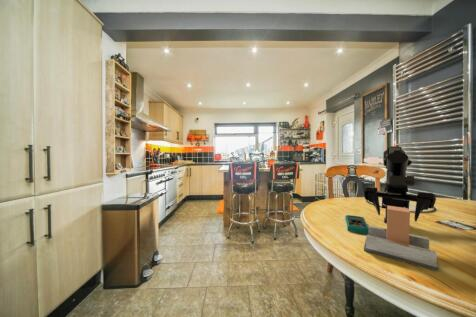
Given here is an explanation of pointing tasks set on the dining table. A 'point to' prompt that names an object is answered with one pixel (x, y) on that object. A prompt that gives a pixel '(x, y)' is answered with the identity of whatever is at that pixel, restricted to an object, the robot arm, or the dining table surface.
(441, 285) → the dining table surface
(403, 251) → the bench vise
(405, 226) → the terracotta block
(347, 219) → the digital multimeter
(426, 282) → the dining table surface
